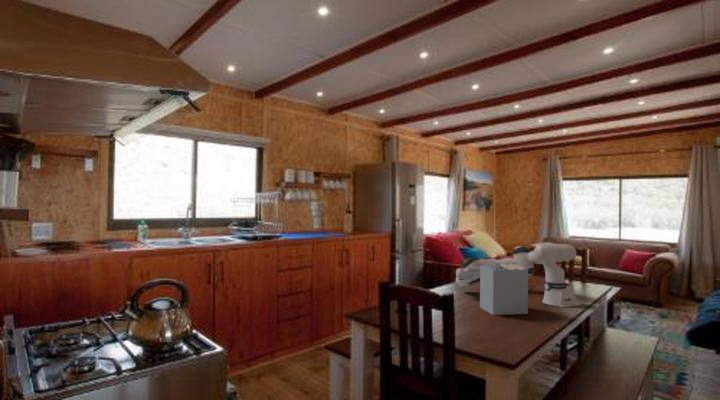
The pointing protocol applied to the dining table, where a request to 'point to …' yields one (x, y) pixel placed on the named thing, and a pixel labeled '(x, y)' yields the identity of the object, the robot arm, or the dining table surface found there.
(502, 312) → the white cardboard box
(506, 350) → the dining table surface
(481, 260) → the gauge bar
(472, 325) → the dining table surface
